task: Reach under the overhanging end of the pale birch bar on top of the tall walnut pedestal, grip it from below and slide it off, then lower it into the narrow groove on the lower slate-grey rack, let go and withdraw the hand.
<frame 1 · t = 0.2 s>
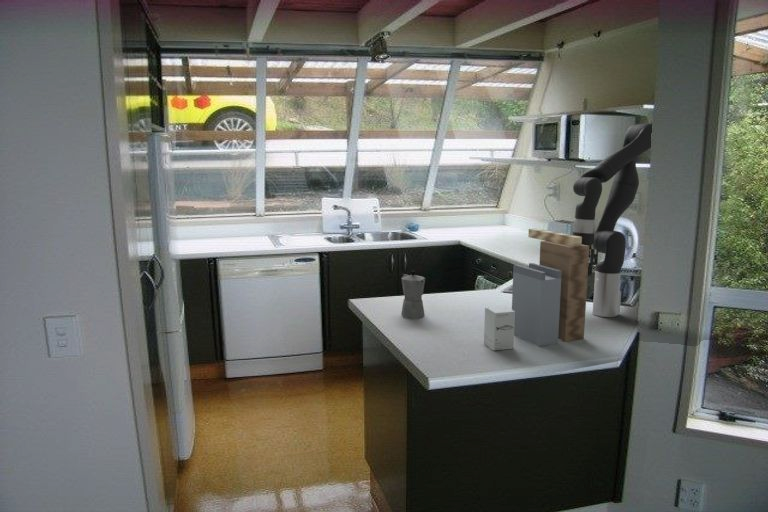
hand: (579, 273, 209), 17 cm above the countertop, tool pointing down, fingers open, 8 cm apart
supplement box: (498, 347, 181), on the countertop
coffeepot: (411, 315, 218), on the countertop
birch bar: (553, 241, 193), point 32 cm above the countertop, touching walnut pedestal
walnut pedestal: (559, 333, 193), on the countertop
slate grooved rack: (533, 337, 189), on the countertop
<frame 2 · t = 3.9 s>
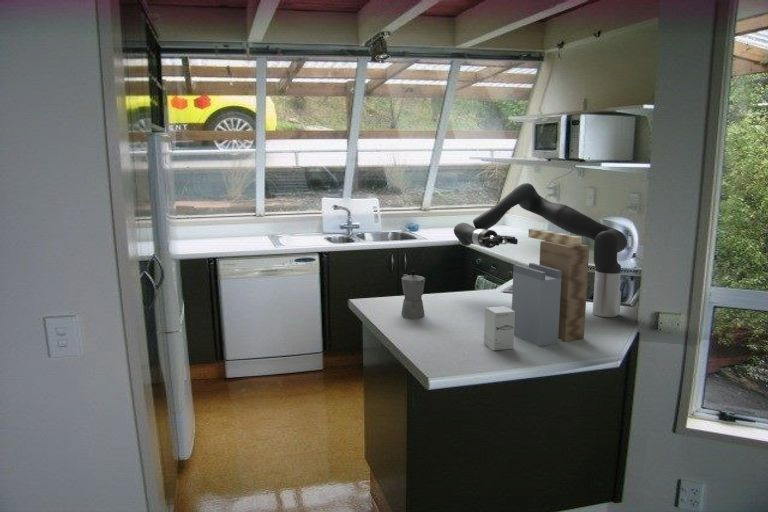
hand: (507, 242, 218), 28 cm above the countertop, tool horizontal, fingers open, 8 cm apart
nothing on the countertop moved.
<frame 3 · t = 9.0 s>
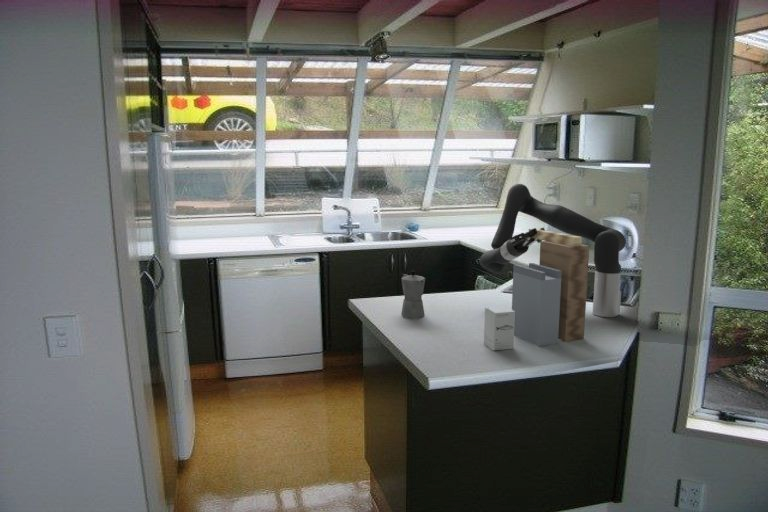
hand: (539, 230, 199), 35 cm above the countertop, tool pointing upward, fingers closed on birch bar, 3 cm apart
birch bar: (553, 241, 193), point 32 cm above the countertop, touching gripper, walnut pedestal
everything else where it was.
when the fingers open (26 cm above the countertop, at t = 18.3 s): birch bar drops 1 cm, resting on slate grooved rack.
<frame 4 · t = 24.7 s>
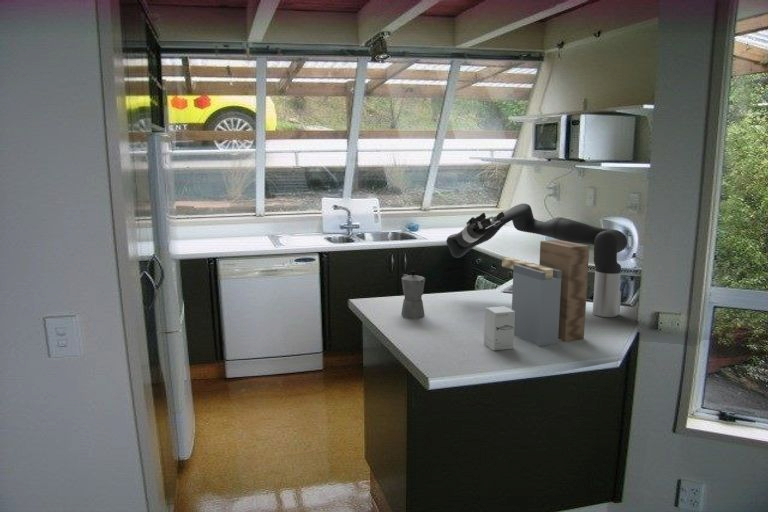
hand: (494, 214, 216), 39 cm above the countertop, tool pointing upward, fingers open, 8 cm apart
birch bar: (525, 271, 190), point 22 cm above the countertop, touching slate grooved rack
everything else where it was.
at the end: birch bar 0.6 cm from the target spot on the slate grooved rack, point 22.0 cm above the slate grooved rack's base; birch bar tilted 0°; the gripper is holding nothing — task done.
